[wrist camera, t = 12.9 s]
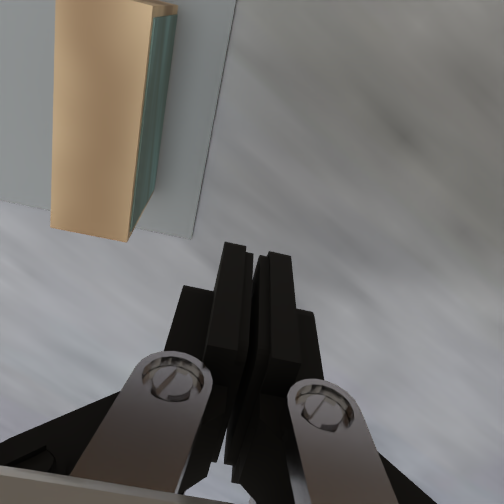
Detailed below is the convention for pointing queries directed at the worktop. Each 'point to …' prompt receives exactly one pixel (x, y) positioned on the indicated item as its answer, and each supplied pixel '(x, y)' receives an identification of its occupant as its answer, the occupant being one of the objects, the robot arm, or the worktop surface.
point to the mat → (175, 118)
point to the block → (108, 111)
